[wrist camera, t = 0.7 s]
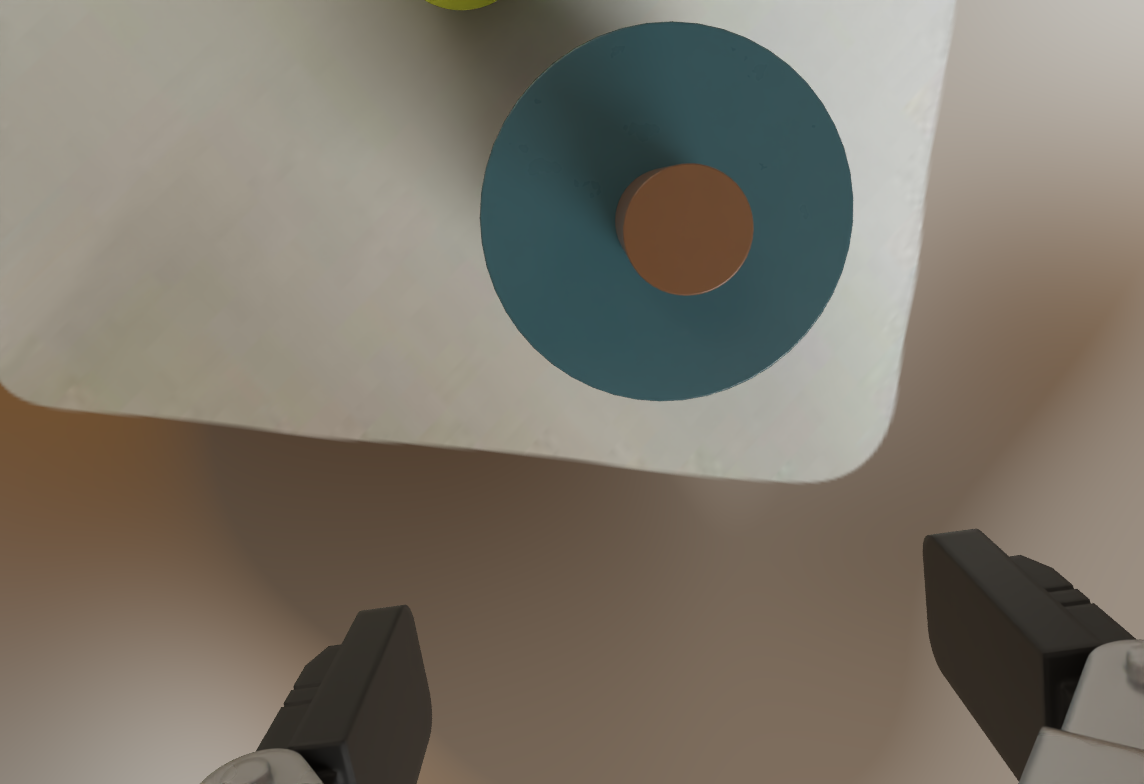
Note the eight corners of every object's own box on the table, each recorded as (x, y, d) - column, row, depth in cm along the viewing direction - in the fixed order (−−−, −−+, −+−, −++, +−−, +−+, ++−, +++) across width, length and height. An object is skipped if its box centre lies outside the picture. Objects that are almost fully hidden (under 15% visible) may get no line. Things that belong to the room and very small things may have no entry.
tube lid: (507, 2, 26) (478, -64, 19) (878, 56, 26) (982, 11, 19) (464, 367, 29) (425, 426, 22) (804, 415, 29) (872, 489, 22)
